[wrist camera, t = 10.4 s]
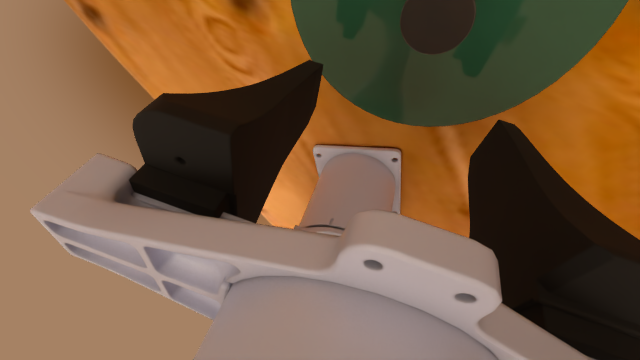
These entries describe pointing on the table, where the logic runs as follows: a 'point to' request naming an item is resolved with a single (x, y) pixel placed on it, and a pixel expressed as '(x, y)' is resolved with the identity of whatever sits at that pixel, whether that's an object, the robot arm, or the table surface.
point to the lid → (448, 52)
